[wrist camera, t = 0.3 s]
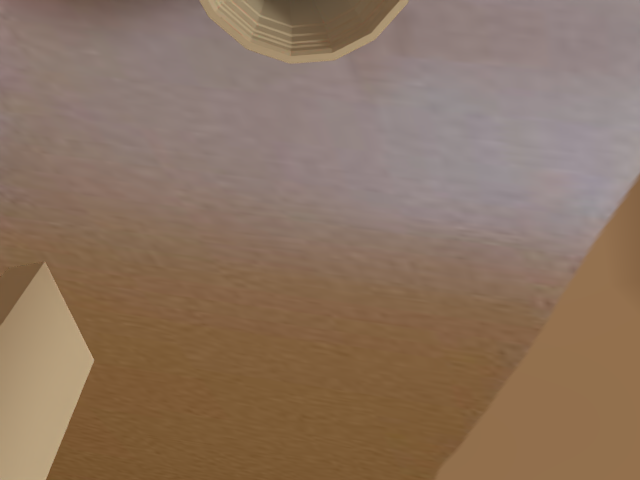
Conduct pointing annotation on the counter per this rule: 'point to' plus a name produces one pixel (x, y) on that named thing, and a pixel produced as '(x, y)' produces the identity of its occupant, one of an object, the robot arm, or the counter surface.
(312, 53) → the plastic cup
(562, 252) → the counter surface
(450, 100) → the counter surface
